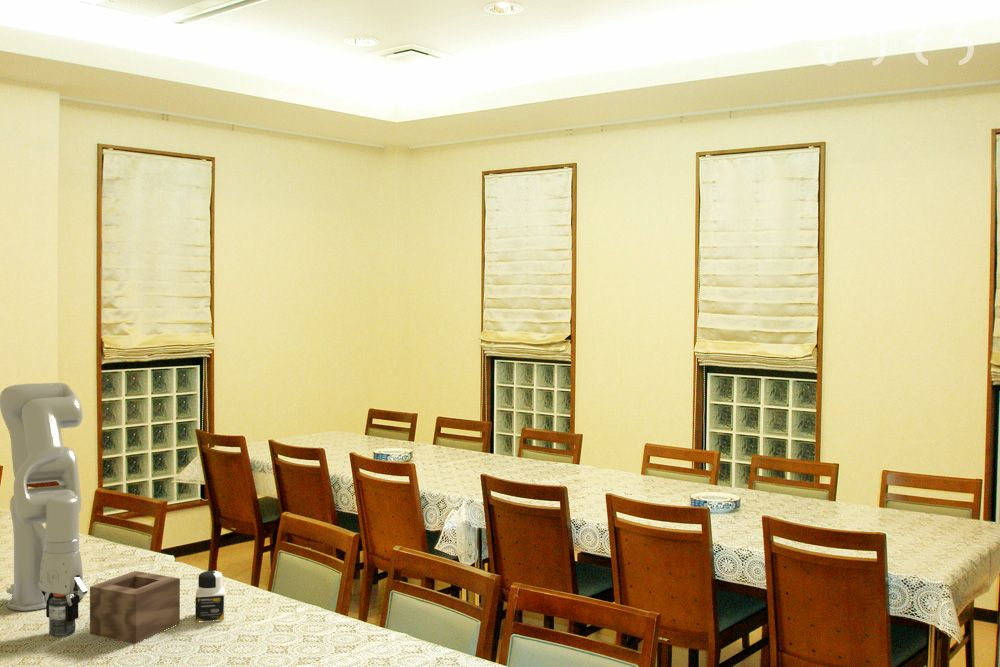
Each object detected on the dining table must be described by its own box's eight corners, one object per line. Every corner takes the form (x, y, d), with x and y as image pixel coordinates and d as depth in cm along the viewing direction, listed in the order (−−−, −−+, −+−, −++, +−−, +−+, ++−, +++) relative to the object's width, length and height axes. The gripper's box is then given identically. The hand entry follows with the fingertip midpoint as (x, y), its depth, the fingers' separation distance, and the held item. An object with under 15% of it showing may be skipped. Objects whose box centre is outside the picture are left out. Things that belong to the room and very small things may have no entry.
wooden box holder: (89, 634, 232) (89, 586, 232) (134, 615, 246) (135, 570, 246) (136, 643, 226) (136, 594, 226) (179, 624, 240) (179, 578, 240)
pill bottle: (68, 627, 237) (68, 583, 236) (79, 633, 233) (79, 588, 232) (44, 633, 232) (44, 588, 232) (55, 639, 228) (56, 593, 228)
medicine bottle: (195, 623, 241) (195, 577, 241) (196, 614, 248) (196, 569, 248) (224, 621, 243) (224, 575, 243) (224, 612, 250) (224, 568, 250)
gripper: (24, 545, 232) (24, 617, 232) (76, 554, 225) (75, 627, 225) (49, 538, 238) (49, 608, 239) (100, 546, 232) (100, 618, 232)
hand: (62, 617), depth 232 cm, fingers closed on pill bottle, 6 cm apart
